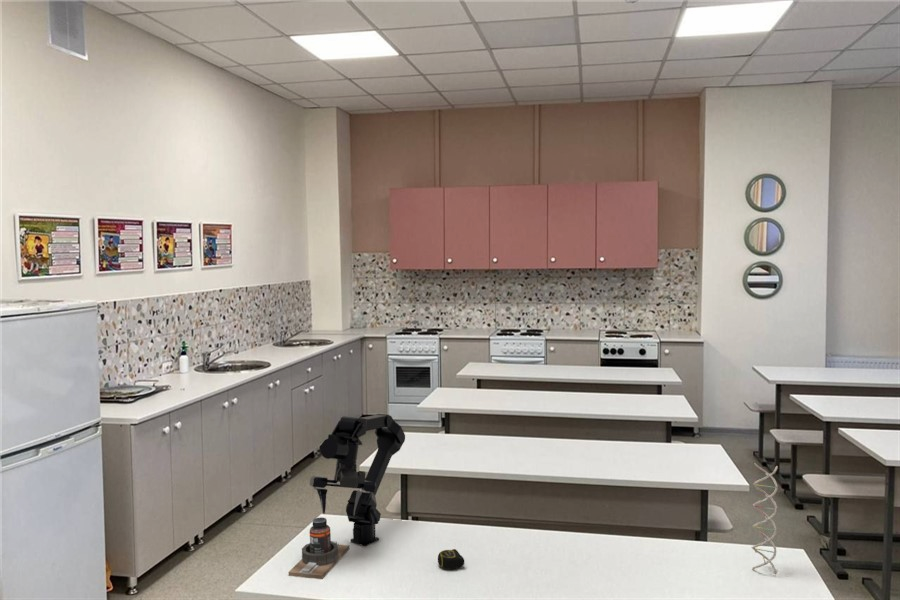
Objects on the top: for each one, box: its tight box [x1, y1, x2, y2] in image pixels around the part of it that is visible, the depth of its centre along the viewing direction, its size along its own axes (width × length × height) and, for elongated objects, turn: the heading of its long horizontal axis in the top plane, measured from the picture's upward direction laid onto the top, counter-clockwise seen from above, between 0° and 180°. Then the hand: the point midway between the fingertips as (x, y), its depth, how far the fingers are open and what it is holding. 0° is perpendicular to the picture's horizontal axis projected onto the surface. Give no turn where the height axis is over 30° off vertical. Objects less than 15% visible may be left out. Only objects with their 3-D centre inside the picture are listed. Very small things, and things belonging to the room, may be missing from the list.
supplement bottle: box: [309, 516, 332, 554], centre depth 203 cm, size 6×6×11 cm
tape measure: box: [437, 548, 465, 570], centre depth 199 cm, size 7×7×4 cm
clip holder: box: [288, 540, 350, 580], centre depth 203 cm, size 20×10×4 cm, turn 167°
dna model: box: [751, 462, 779, 574], centre depth 192 cm, size 7×6×30 cm
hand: (339, 514), depth 204 cm, fingers open, 9 cm apart
